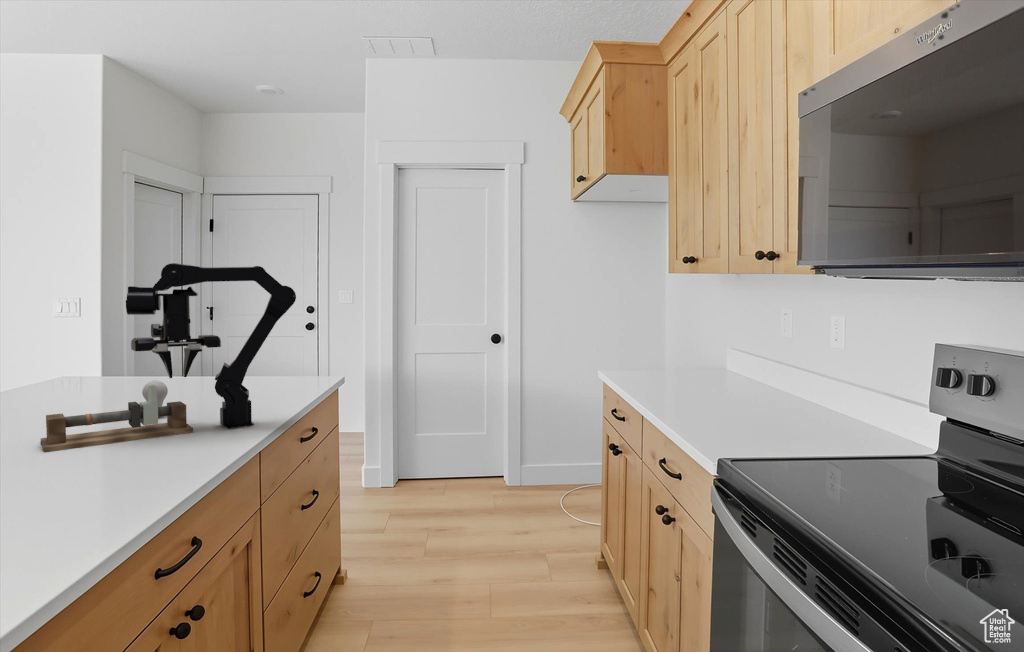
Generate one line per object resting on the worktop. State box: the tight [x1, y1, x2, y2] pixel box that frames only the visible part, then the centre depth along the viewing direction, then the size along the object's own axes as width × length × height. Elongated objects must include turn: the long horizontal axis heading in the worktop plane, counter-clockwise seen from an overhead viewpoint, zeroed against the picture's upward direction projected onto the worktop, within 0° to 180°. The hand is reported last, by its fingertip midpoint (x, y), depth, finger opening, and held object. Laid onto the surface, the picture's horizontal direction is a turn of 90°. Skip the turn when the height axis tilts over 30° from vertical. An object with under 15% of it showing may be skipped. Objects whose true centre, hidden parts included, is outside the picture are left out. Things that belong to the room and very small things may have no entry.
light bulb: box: [141, 379, 168, 407], centre depth 164 cm, size 6×6×10 cm
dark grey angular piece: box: [127, 401, 142, 428], centre depth 144 cm, size 2×5×5 cm, turn 41°
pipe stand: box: [40, 400, 194, 453], centre depth 143 cm, size 29×10×6 cm, turn 131°
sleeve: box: [138, 385, 159, 426], centre depth 146 cm, size 3×5×9 cm, turn 41°
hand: (177, 377), depth 150 cm, fingers open, 3 cm apart
